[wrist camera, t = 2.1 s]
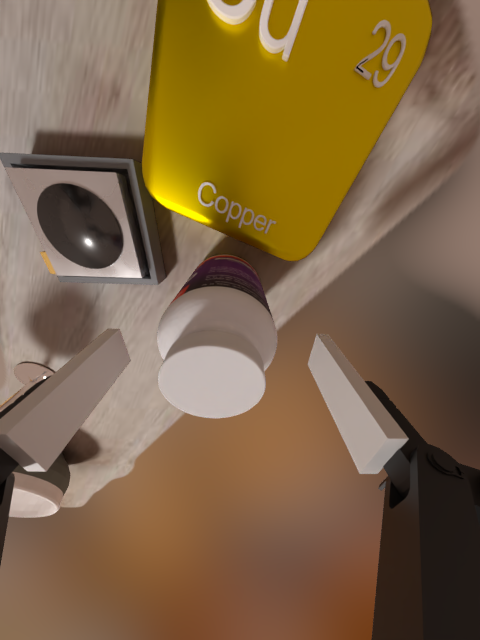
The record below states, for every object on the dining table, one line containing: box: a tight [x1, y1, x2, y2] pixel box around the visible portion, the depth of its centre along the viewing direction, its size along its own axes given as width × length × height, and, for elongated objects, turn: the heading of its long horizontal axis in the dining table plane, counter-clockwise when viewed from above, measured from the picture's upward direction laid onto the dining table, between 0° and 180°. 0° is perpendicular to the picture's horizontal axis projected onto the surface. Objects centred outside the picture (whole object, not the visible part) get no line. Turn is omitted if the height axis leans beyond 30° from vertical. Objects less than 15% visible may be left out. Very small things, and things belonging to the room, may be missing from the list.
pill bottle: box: [157, 254, 277, 418], centre depth 15 cm, size 8×8×14 cm
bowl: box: [9, 453, 70, 518], centre depth 38 cm, size 19×19×8 cm
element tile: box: [142, 0, 432, 261], centre depth 13 cm, size 15×15×5 cm
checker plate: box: [5, 167, 150, 278], centre depth 16 cm, size 8×8×2 cm
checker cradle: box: [0, 153, 166, 285], centre depth 17 cm, size 10×10×3 cm
